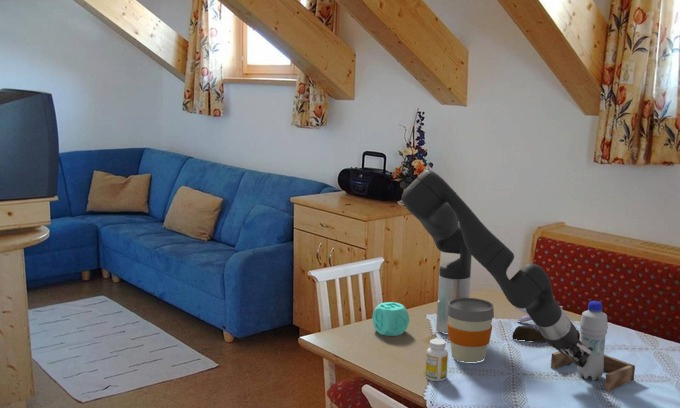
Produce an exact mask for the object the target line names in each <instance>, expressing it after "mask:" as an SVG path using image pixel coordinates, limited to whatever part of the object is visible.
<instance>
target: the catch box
mask: <svg viewBox="0 0 680 408" xmlns="http://www.w3.org/2000/svg"><path fill="white" fill-rule="evenodd" d="M550 362H551V363H550V368H551V370H552V369H553V370H556V369H558V368H561V367H564V366H568V365H570V364H573V363H575V362H574V361H573V359H571V358H569V357H568V355H563V354H562V353H561V352H559V351H558V350H557V351H555V352H552V353H551V359H550ZM635 371H636V365H634V364H631V363H629V362H626V361H623V360H620V359H617V358H616V357H615V358H614V357H612V356H609V355H606V354H604V369H603V372H606V374H605V382H604V390H605V391H607V392H610V391H612V390H614V389H616V388H619V387H621V386H625V385H627V384H629V383H631V382H634V380H635Z"/></svg>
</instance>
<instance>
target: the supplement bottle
mask: <svg viewBox="0 0 680 408" xmlns="http://www.w3.org/2000/svg"><path fill="white" fill-rule="evenodd" d="M446 344H447V342H446V341H445V340H444V339H441V338H432V339H430V340H429V347H428V349H426V359H425V374H424V375H425V378H426V379H427V380H429V381H433V382H442V381H444V380H446V379H447V374H448V360H449V359H448V358H449V354H448V353H449V352H448V350H447V349H446V347H447V345H446Z"/></svg>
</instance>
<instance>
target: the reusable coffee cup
mask: <svg viewBox="0 0 680 408" xmlns="http://www.w3.org/2000/svg"><path fill="white" fill-rule="evenodd" d="M447 314H448V319H449V321H448V322H447V325H448V336H447V337H448V340H449V342H450V351H451V352H450V353H451V358H452V357H453V358H454V359H456V360H458V361H457V362H459V361H464V362H477V361H481V360H483V359H484V358H485V359H486V353H487V350H488V349H487V348H488V344H489V343H490V342H491V341H490V340H491V338H492V337H491V336H492V330H493V318H494V317H495V315H494V314H495V313H494V304H493V303H492V302H490V301H488V300H486V299H485V300H484V299H481V298H475V297H469V298H457V299H452V300H450V301H449V302H448V308H447ZM453 358H452V359H453ZM454 359H453V360H454ZM456 360H455V361H456Z"/></svg>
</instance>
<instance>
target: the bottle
mask: <svg viewBox="0 0 680 408" xmlns="http://www.w3.org/2000/svg"><path fill="white" fill-rule="evenodd" d="M608 325H609V324H608V315H607V314H606V313H605V312H603V304H602V302H600V301H598V300H592V301H589V302H588V305H587V310H584V311H583V312H582V313H581V318H580V323H579V326H580V327H579V332H580V341H581V342H582V346H584V347H592V348H593V350H592V352H591V354H590V355H589V357H588V358H587V359H586V361H587V362H586V364H585V366H584V367H583V368H582V367H579V366H577V365H576V366H577V374H578V375H579V376H580V377H581V378H584V379H585V380H588V379H589V377H591V380H592V381H595V380H596V379H597V380H600V379H601V378H602V376H603V373H604V371H603V369H604V355H605V344H606V335H607V334H608V328H609V327H608Z"/></svg>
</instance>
